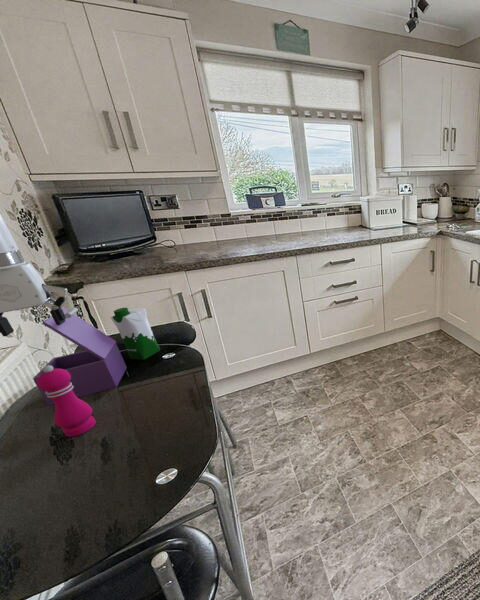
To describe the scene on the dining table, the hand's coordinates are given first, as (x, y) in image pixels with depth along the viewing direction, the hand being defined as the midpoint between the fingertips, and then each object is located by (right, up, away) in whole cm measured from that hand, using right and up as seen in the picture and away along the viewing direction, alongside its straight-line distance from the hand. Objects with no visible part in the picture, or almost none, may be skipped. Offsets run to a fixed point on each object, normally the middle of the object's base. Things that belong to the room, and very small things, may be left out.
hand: (35, 328), depth 81 cm
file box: (-14, -22, +29) cm, 39 cm away
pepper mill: (+3, -28, +8) cm, 30 cm away
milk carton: (-9, -14, +47) cm, 50 cm away
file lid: (-12, -4, +24) cm, 27 cm away
